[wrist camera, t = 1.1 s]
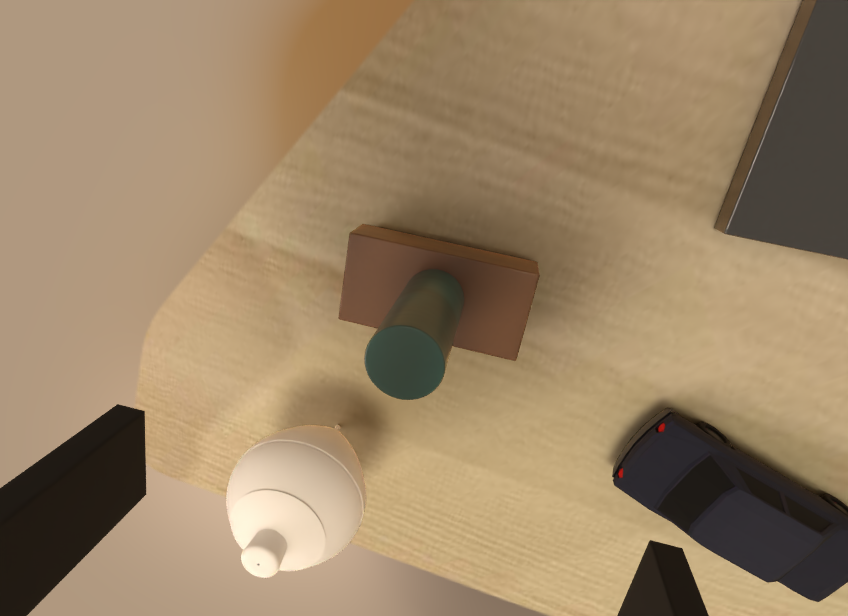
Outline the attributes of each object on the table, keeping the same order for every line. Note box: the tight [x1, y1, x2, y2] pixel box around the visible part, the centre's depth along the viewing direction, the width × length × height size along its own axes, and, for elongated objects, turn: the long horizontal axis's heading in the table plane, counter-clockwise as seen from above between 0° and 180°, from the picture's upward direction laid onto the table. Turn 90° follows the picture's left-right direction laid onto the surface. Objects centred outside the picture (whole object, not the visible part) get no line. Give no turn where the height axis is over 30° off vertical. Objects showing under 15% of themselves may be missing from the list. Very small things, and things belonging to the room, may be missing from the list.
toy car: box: [612, 408, 848, 602], centre depth 30 cm, size 6×15×5 cm, turn 61°
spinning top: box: [226, 425, 366, 578], centre depth 30 cm, size 8×8×12 cm
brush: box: [339, 224, 540, 400], centre depth 26 cm, size 10×5×12 cm, turn 80°
